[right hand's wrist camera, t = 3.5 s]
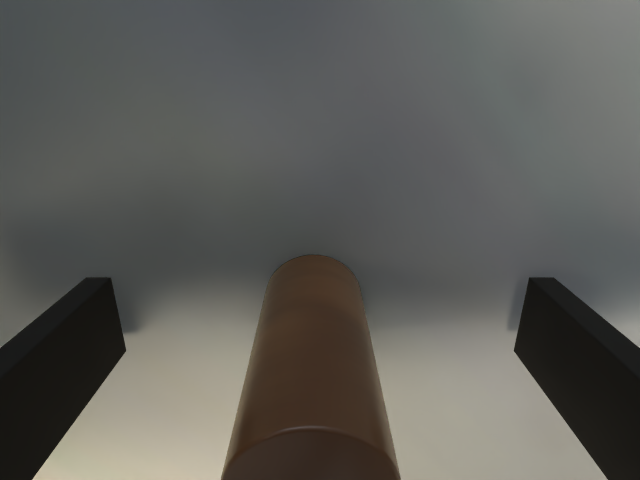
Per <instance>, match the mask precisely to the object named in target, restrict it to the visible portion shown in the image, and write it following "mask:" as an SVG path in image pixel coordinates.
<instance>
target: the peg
mask: <svg viewBox="0 0 640 480" xmlns="http://www.w3.org/2000/svg"><path fill="white" fill-rule="evenodd" d="M221 480H401V478H400V473H399V468H398V464H397V459H396V454H395V450H394V445H393V440H392V436H391V431H390V426H389V422H388V417H387V412H386V407H385V403H384V398H383V393H382V389H381V384H380V379H379V375H378V370H377V365H376V361H375V356H374V351H373V347H372V342H371V337H370V333H369V328H368V323H367V319H366V314H365V309H364V305H363V300H362V295H361V291H360V286H359V284H358V281H357V279H356V277H355V276H354V274H353V273H352V272H351V271H350V270H349V269H348V268H347V267H346V266H345V265H344V264H342V263H340V262H339V261H337V260H335V259H333V258H329V257H326V256H321V255H306V256H300V257H297V258H294V259H292V260H290V261H288V262H286V263H285V264H283V265H282V266H281V267H279V268H278V269H277V270H276V271H275V272H274V274H273V275H272V277H271V278H270V280H269V282H268V285H267V289H266V293H265V297H264V301H263V305H262V310H261V314H260V318H259V322H258V326H257V331H256V335H255V339H254V343H253V347H252V351H251V356H250V360H249V364H248V368H247V372H246V377H245V381H244V385H243V389H242V393H241V397H240V402H239V406H238V410H237V414H236V418H235V423H234V427H233V431H232V435H231V439H230V443H229V448H228V452H227V456H226V460H225V464H224V469H223V473H222V477H221Z"/></svg>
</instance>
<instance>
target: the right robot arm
mask: <svg viewBox="0 0 640 480" xmlns="http://www.w3.org/2000/svg"><path fill="white" fill-rule="evenodd" d="M125 352H126V348H125V343H124V338H123V333H122V328H121V324H120V319H119V314H118V309H117V305H116V300H115V295H114V290H113V286H112V281H111V278H85V279H84V280H83V281H82V282H80V283H79V284H78V285H77V286H75V287H74V288H73V289H72V290H71V291H69V292H68V293H67V294H66V295H65V296H63V297H62V298H61V299H60V300H58V301H57V302H56V303H55V304H54V305H52V306H51V307H50V308H49V309H47V310H46V311H45V312H44V313H43V314H41V315H40V316H39V317H38V318H37V319H35V320H34V321H33V322H32V323H30V324H29V325H28V326H27V327H26V328H24V329H23V330H22V331H21V332H19V333H18V334H17V335H16V336H15V337H13V338H12V339H11V340H10V341H9V342H7V343H6V344H5V345H4V346H2V347H1V348H0V480H32V479H33V478H34V476H35V475H36V473H37V472H38V471H39V469H40V468H41V467H42V465H43V464H44V462H45V461H46V460H47V458H48V457H49V456H50V454H51V453H52V452H53V450H54V449H55V447H56V446H57V445H58V443H59V442H60V441H61V439H62V438H63V436H64V435H65V434H66V432H67V431H68V430H69V428H70V427H71V426H72V424H73V423H74V421H75V420H76V419H77V417H78V416H79V415H80V413H81V412H82V410H83V409H84V408H85V406H86V405H87V404H88V402H89V401H90V400H91V398H92V397H93V395H94V394H95V393H96V391H97V390H98V389H99V387H100V386H101V384H102V383H103V382H104V380H105V379H106V378H107V376H108V375H109V374H110V372H111V371H112V369H113V368H114V367H115V365H116V364H117V363H118V361H119V360H120V358H121V357H122V356H123V354H124V353H125ZM514 352H515V353H516V354H517V356H518V357H519V358H520V360H521V361H522V363H523V364H524V365H525V367H526V368H527V369H528V371H529V372H530V374H531V375H532V376H533V378H534V379H535V380H536V382H537V383H538V384H539V386H540V387H541V389H542V390H543V391H544V393H545V394H546V395H547V397H548V398H549V400H550V401H551V402H552V404H553V405H554V406H555V408H556V409H557V410H558V412H559V413H560V415H561V416H562V417H563V419H564V420H565V421H566V423H567V424H568V426H569V427H570V428H571V430H572V431H573V432H574V434H575V435H576V436H577V438H578V439H579V441H580V442H581V443H582V445H583V446H584V447H585V449H586V450H587V452H588V453H589V454H590V456H591V457H592V458H593V460H594V461H595V462H596V464H597V465H598V467H599V468H600V469H601V471H602V472H603V473H604V475H605V476H606V478H607V479H608V480H640V348H639V347H638V346H636V345H635V344H634V343H633V342H631V341H630V340H629V339H628V338H627V337H625V336H624V335H623V334H622V333H621V332H619V331H618V330H617V329H616V328H614V327H613V326H612V325H611V324H610V323H608V322H607V321H606V320H605V319H603V318H602V317H601V316H600V315H599V314H597V313H596V312H595V311H594V310H593V309H591V308H590V307H589V306H588V305H586V304H585V303H584V302H583V301H582V300H580V299H579V298H578V297H577V296H575V295H574V294H573V293H572V292H571V291H569V290H568V289H567V288H566V287H565V286H563V285H562V284H561V283H560V282H558V281H557V280H556V279H555V278H529V281H528V286H527V290H526V295H525V300H524V305H523V309H522V314H521V319H520V324H519V328H518V333H517V338H516V343H515V348H514Z"/></svg>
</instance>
